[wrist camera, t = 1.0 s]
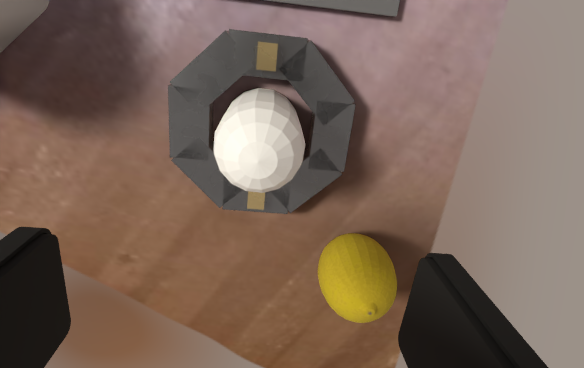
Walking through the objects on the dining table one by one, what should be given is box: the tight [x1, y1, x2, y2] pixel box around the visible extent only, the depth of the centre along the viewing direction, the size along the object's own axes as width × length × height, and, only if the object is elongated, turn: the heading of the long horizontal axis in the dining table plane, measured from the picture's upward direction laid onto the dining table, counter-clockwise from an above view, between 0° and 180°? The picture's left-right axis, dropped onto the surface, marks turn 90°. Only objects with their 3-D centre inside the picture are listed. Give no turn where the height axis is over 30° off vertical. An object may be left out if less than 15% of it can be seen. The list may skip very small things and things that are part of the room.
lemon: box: [318, 233, 397, 323], centre depth 26 cm, size 6×6×8 cm
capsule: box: [214, 88, 305, 193], centre depth 22 cm, size 5×5×8 cm
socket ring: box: [168, 29, 356, 214], centre depth 24 cm, size 12×12×2 cm
